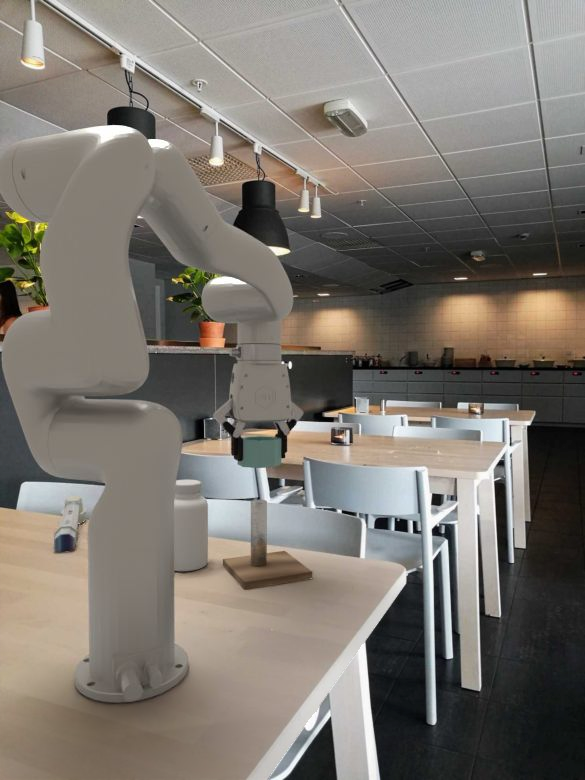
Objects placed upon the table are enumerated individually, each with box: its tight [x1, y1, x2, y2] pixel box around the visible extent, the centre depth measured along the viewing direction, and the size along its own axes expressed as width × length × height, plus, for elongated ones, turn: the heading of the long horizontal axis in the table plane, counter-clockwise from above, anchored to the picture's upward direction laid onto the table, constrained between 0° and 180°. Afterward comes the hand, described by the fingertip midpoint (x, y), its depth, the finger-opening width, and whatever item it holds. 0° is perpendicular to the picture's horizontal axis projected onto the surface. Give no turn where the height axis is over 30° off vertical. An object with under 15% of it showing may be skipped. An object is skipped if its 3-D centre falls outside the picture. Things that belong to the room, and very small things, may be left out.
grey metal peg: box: [250, 499, 268, 567], centre depth 100 cm, size 3×3×11 cm
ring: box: [237, 435, 282, 469], centre depth 100 cm, size 7×7×4 cm
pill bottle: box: [174, 479, 209, 572], centre depth 103 cm, size 8×8×15 cm
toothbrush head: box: [53, 495, 87, 553], centre depth 123 cm, size 5×7×25 cm
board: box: [222, 550, 313, 590], centre depth 100 cm, size 12×12×1 cm
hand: (259, 457), depth 100 cm, fingers closed on ring, 7 cm apart
